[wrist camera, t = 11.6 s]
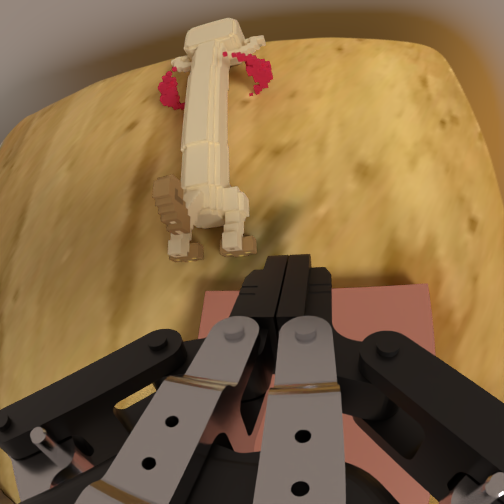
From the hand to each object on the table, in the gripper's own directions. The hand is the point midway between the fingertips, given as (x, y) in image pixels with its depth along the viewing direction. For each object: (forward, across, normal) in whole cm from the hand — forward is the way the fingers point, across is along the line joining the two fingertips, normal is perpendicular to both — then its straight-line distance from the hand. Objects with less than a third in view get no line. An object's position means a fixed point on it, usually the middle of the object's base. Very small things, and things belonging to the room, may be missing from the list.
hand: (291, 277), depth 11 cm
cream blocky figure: (+17, +7, -5) cm, 19 cm away
